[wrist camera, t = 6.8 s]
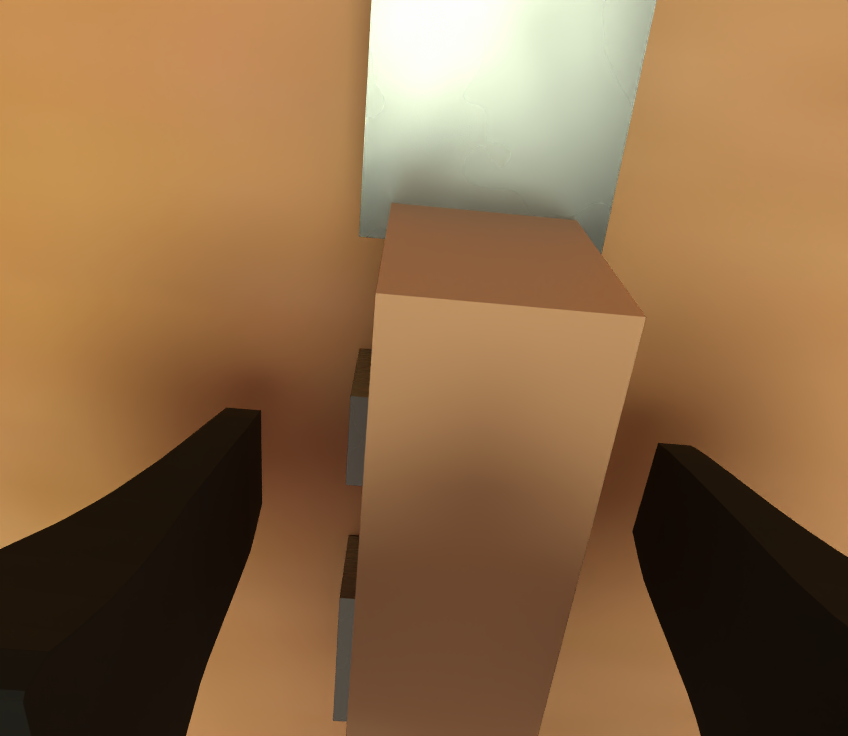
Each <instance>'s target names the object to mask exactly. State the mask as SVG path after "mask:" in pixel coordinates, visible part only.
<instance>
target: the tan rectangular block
mask: <svg viewBox="0 0 848 736" xmlns="http://www.w3.org/2000/svg"><path fill="white" fill-rule="evenodd" d="M645 320H646V316H645V315H644V314H643V312H642V311H641V309H640V308H639V307H638V305H637V304H636V302H635V301H634V300H633V298H632V297H631V295H630V294H629V293H628V291H627V290H626V288H625V287H624V286H623V284H622V283H621V281H620V280H619V279H618V277H617V276H616V274H615V273H614V272H613V270H612V269H611V267H610V266H609V265H608V263H607V262H606V261H605V259H604V258H603V256H602V255H601V254H600V252H599V251H598V249H597V248H596V247H595V245H594V244H593V242H592V241H591V240H590V238H589V237H588V235H587V234H586V233H585V231H584V230H583V228H582V227H581V226H580V224H579V223H578V221H577V220H568V219H558V218H547V217H537V216H526V215H515V214H505V213H494V212H484V211H473V210H462V209H452V208H441V207H431V206H420V205H409V204H399V203H391V207H390V213H389V219H388V225H387V231H386V236H385V242H384V248H383V254H382V260H381V265H380V271H379V277H378V283H377V289H376V296H375V311H374V326H373V341H372V356H371V371H370V385H369V400H368V415H367V430H366V445H365V460H364V475H363V490H362V504H361V519H360V534H359V549H358V564H357V579H356V594H355V609H354V623H353V638H352V653H351V668H350V683H349V698H348V713H347V728H346V736H538V734H539V730H540V726H541V722H542V718H543V714H544V711H545V707H546V703H547V699H548V695H549V691H550V687H551V683H552V680H553V676H554V672H555V668H556V664H557V660H558V656H559V652H560V649H561V645H562V641H563V637H564V633H565V629H566V625H567V622H568V618H569V614H570V610H571V606H572V602H573V598H574V594H575V591H576V587H577V583H578V579H579V575H580V571H581V567H582V563H583V560H584V556H585V552H586V548H587V544H588V540H589V536H590V532H591V529H592V525H593V521H594V517H595V513H596V509H597V505H598V501H599V498H600V494H601V490H602V486H603V482H604V478H605V474H606V471H607V467H608V463H609V459H610V455H611V451H612V447H613V443H614V440H615V436H616V432H617V428H618V424H619V420H620V416H621V412H622V409H623V405H624V401H625V397H626V393H627V389H628V385H629V381H630V378H631V374H632V370H633V366H634V362H635V358H636V354H637V350H638V347H639V343H640V339H641V335H642V331H643V327H644V323H645Z"/></svg>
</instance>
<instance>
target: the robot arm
mask: <svg viewBox="0 0 848 736" xmlns="http://www.w3.org/2000/svg"><path fill="white" fill-rule="evenodd" d="M261 505H262V459H261V410H249V409H236V408H226V409H224V410H223V411H222V412H220V413H219V414H218V415H216V416H215V417H214V418H213V419H211V420H210V421H209V422H207V423H206V424H205V425H204V426H202V427H201V428H200V429H199V430H197V431H196V432H195V433H194V434H192V435H191V436H190V437H189V438H187V439H186V440H185V441H184V442H182V443H181V444H180V445H178V446H177V447H176V448H174V449H173V450H172V451H170V452H169V453H168V454H167V455H165V456H164V457H163V458H161V459H160V460H159V461H157V462H156V463H154V464H153V465H151V466H150V467H149V468H147V469H146V470H144V471H143V472H141V473H140V474H138V475H137V476H135V477H134V478H132V479H131V480H129V481H128V482H126V483H125V484H123V485H122V486H120V487H119V488H118V489H116V490H114V491H113V492H111V493H110V494H108V495H106V496H105V497H103V498H101V499H100V500H98V501H96V502H94V503H93V504H91V505H89V506H87V507H86V508H84V509H82V510H80V511H78V512H76V513H75V514H73V515H71V516H69V517H67V518H65V519H64V520H62V521H60V522H58V523H56V524H54V525H52V526H49V527H47V528H45V529H43V530H41V531H39V532H36V533H34V534H32V535H30V536H28V537H25V538H23V539H21V540H19V541H17V542H15V543H12V544H10V545H8V546H6V547H4V548H2V549H0V736H186V733H187V730H188V726H189V723H190V719H191V715H192V712H193V708H194V704H195V701H196V697H197V694H198V690H199V686H200V683H201V680H202V677H203V674H204V671H205V668H206V665H207V662H208V659H209V657H210V654H211V652H212V649H213V646H214V644H215V641H216V639H217V636H218V634H219V631H220V629H221V626H222V623H223V621H224V618H225V616H226V613H227V611H228V608H229V606H230V603H231V600H232V598H233V595H234V593H235V590H236V588H237V585H238V582H239V580H240V577H241V575H242V572H243V569H244V567H245V564H246V562H247V559H248V556H249V554H250V551H251V547H252V543H253V539H254V535H255V531H256V527H257V522H258V518H259V514H260V510H261ZM633 536H634V541H635V545H636V550H637V555H638V559H639V563H640V567H641V571H642V575H643V579H644V582H645V585H646V588H647V591H648V593H649V596H650V598H651V601H652V604H653V606H654V609H655V612H656V614H657V617H658V619H659V622H660V624H661V627H662V629H663V632H664V635H665V637H666V640H667V642H668V645H669V647H670V650H671V652H672V655H673V657H674V660H675V662H676V665H677V668H678V670H679V673H680V675H681V678H682V680H683V683H684V685H685V688H686V690H687V693H688V696H689V699H690V702H691V705H692V708H693V711H694V714H695V717H696V720H697V724H698V727H699V731H700V735H701V736H848V557H847V556H845V555H843V554H842V553H840V552H839V551H837V550H836V549H834V548H833V547H831V546H830V545H828V544H827V543H825V542H824V541H822V540H821V539H819V538H818V537H816V536H815V535H813V534H812V533H810V532H809V531H807V530H806V529H805V528H803V527H802V526H800V525H799V524H797V523H796V522H795V521H793V520H792V519H791V518H789V517H788V516H786V515H785V514H784V513H782V512H781V511H780V510H778V509H777V508H775V507H774V506H773V505H771V504H770V503H769V502H767V501H766V500H765V499H763V498H762V497H761V496H759V495H758V494H757V493H755V492H754V491H753V490H752V489H750V488H749V487H748V486H746V485H745V484H744V483H742V482H741V481H740V480H738V479H737V478H736V477H735V476H733V475H732V474H731V473H729V472H728V471H727V470H725V469H724V468H723V467H721V466H720V465H719V464H717V463H716V462H715V461H713V460H712V459H711V458H709V457H708V456H706V455H705V454H703V453H702V452H700V451H699V450H697V449H696V448H694V447H693V446H689V445H676V444H664V443H658V446H657V449H656V453H655V456H654V459H653V463H652V466H651V470H650V473H649V477H648V480H647V483H646V487H645V490H644V494H643V497H642V501H641V504H640V507H639V511H638V514H637V518H636V521H635V525H634V528H633Z"/></svg>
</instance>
